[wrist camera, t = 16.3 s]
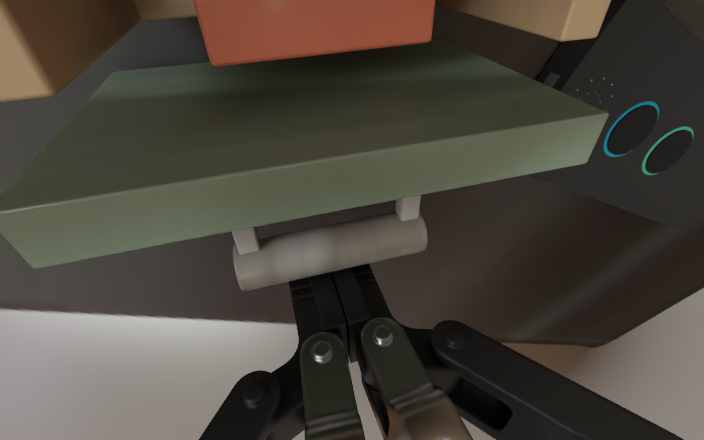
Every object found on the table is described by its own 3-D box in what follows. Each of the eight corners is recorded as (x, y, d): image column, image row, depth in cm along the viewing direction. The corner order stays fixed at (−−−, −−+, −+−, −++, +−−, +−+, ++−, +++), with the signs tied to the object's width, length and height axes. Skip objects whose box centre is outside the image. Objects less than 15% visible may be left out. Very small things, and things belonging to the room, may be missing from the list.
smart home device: (646, -24, 12) (801, 135, 22) (607, -26, 14) (769, 124, 23) (504, 170, 16) (686, 235, 26) (484, 154, 18) (664, 221, 27)
